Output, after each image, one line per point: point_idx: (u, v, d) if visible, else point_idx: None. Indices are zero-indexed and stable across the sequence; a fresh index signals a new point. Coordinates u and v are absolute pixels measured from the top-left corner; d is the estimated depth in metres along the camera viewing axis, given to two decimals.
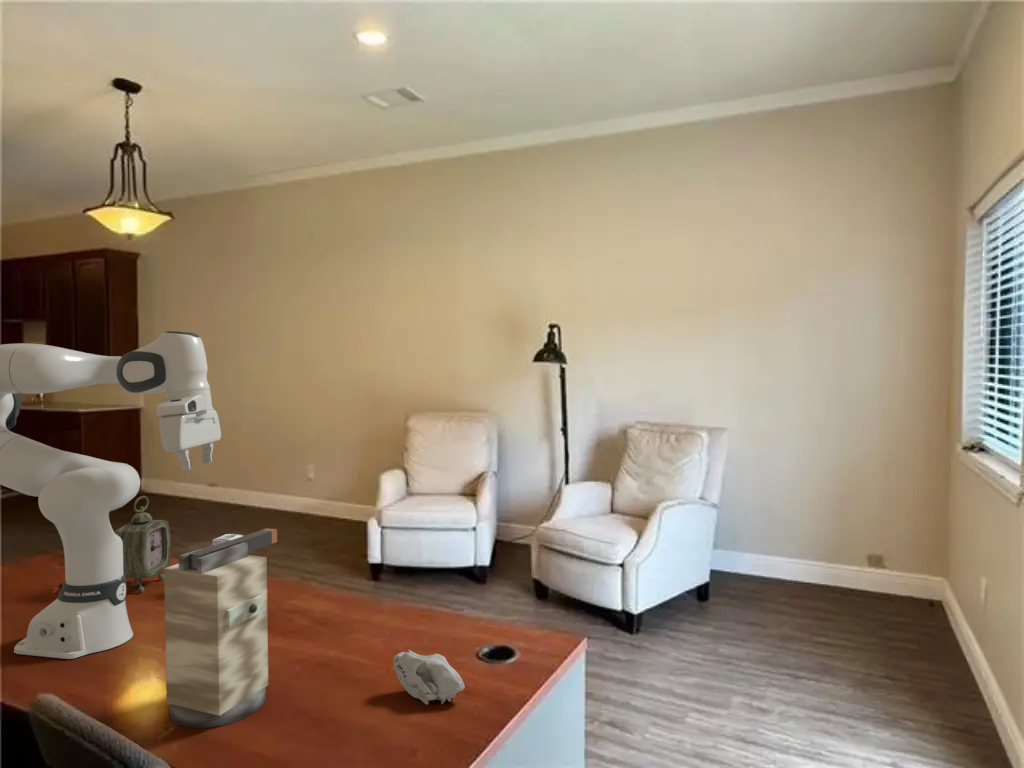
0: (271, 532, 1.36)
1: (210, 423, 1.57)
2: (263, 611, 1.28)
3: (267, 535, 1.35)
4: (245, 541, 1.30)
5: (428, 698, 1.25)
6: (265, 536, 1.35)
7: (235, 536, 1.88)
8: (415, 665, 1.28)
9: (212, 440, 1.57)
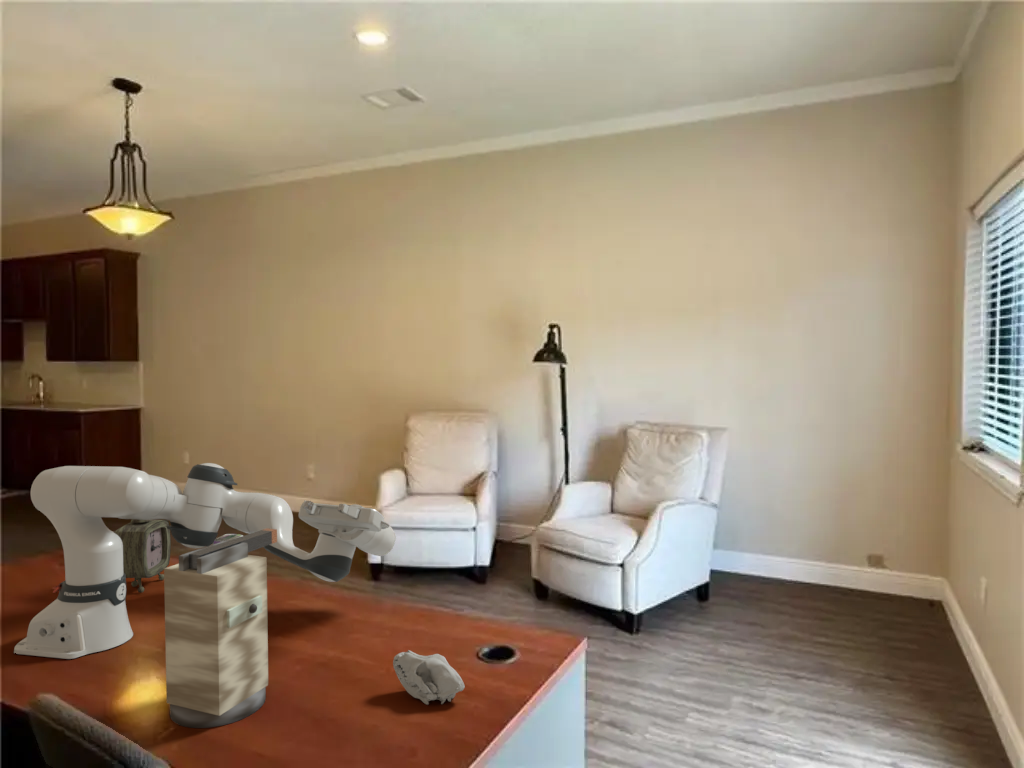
0: (271, 532, 1.36)
1: None
2: (263, 611, 1.28)
3: (267, 535, 1.35)
4: (245, 541, 1.30)
5: (428, 698, 1.25)
6: (265, 536, 1.35)
7: (235, 536, 1.88)
8: (415, 665, 1.28)
9: (355, 507, 1.57)
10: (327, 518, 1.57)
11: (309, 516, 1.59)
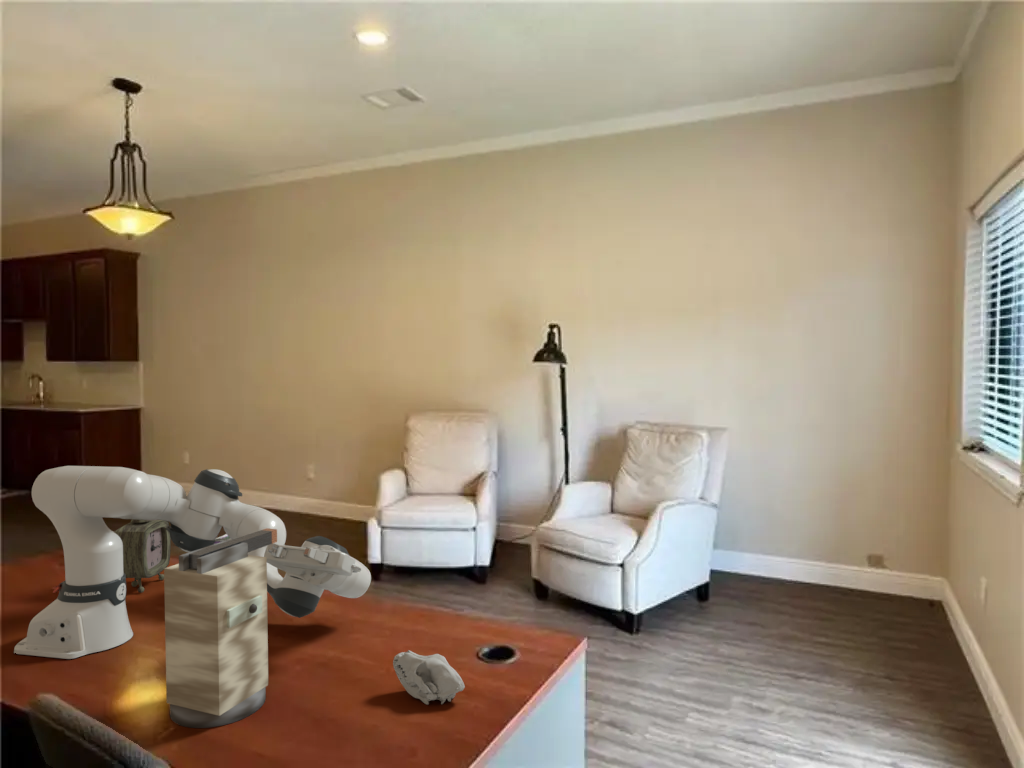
0: (271, 532, 1.36)
1: None
2: (263, 611, 1.28)
3: (267, 535, 1.35)
4: (245, 541, 1.30)
5: (428, 698, 1.25)
6: (265, 536, 1.35)
7: None
8: (415, 665, 1.28)
9: (324, 550, 1.45)
10: (293, 562, 1.46)
11: (274, 559, 1.48)
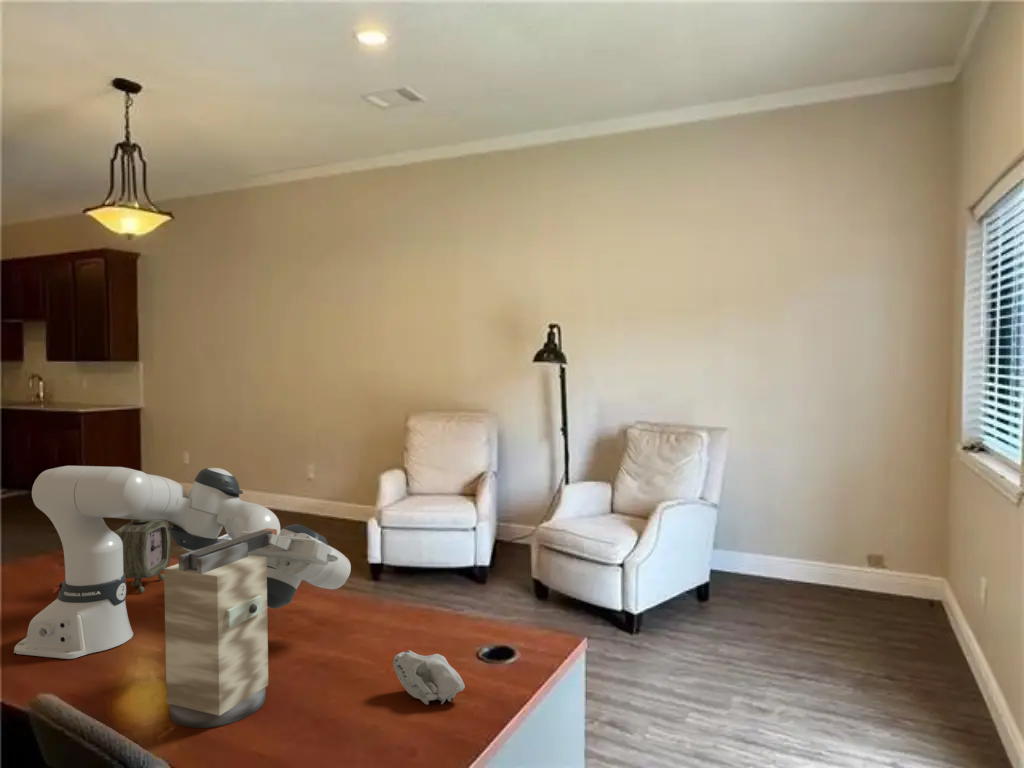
0: (271, 532, 1.36)
1: None
2: (263, 611, 1.28)
3: None
4: (245, 541, 1.30)
5: (428, 698, 1.25)
6: (265, 536, 1.35)
7: None
8: (415, 665, 1.28)
9: (298, 537, 1.38)
10: (266, 550, 1.39)
11: None
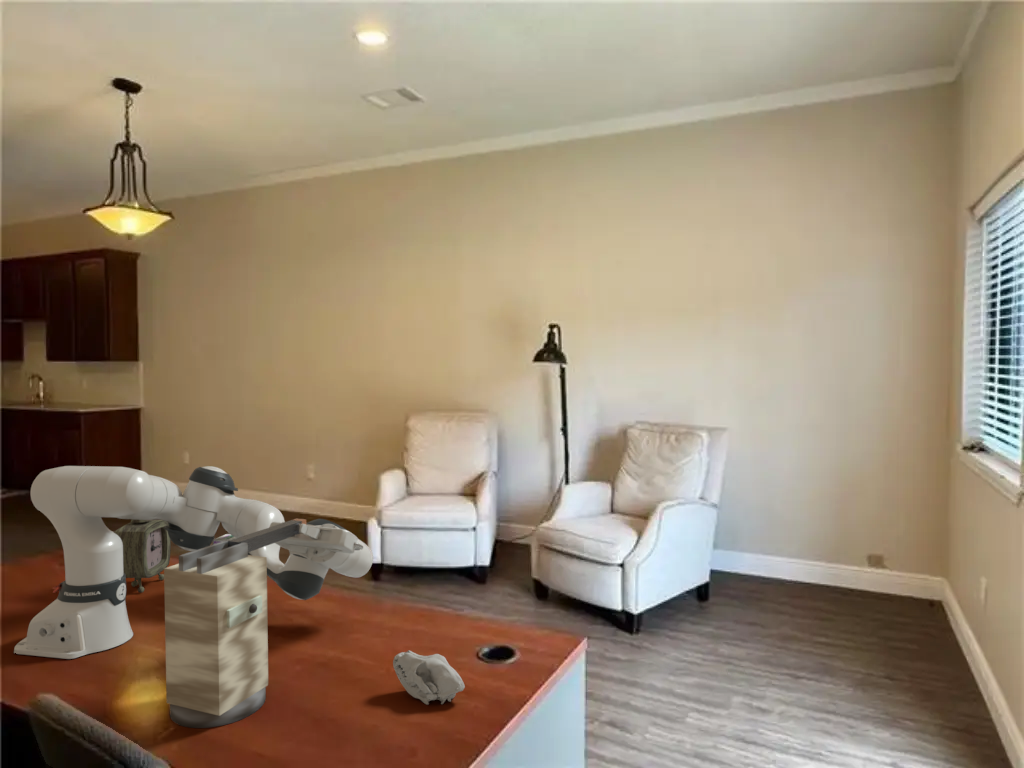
0: (301, 522, 1.45)
1: None
2: (263, 611, 1.28)
3: None
4: (278, 530, 1.38)
5: (428, 698, 1.25)
6: (296, 526, 1.43)
7: None
8: (415, 665, 1.28)
9: (326, 527, 1.47)
10: (296, 539, 1.47)
11: None
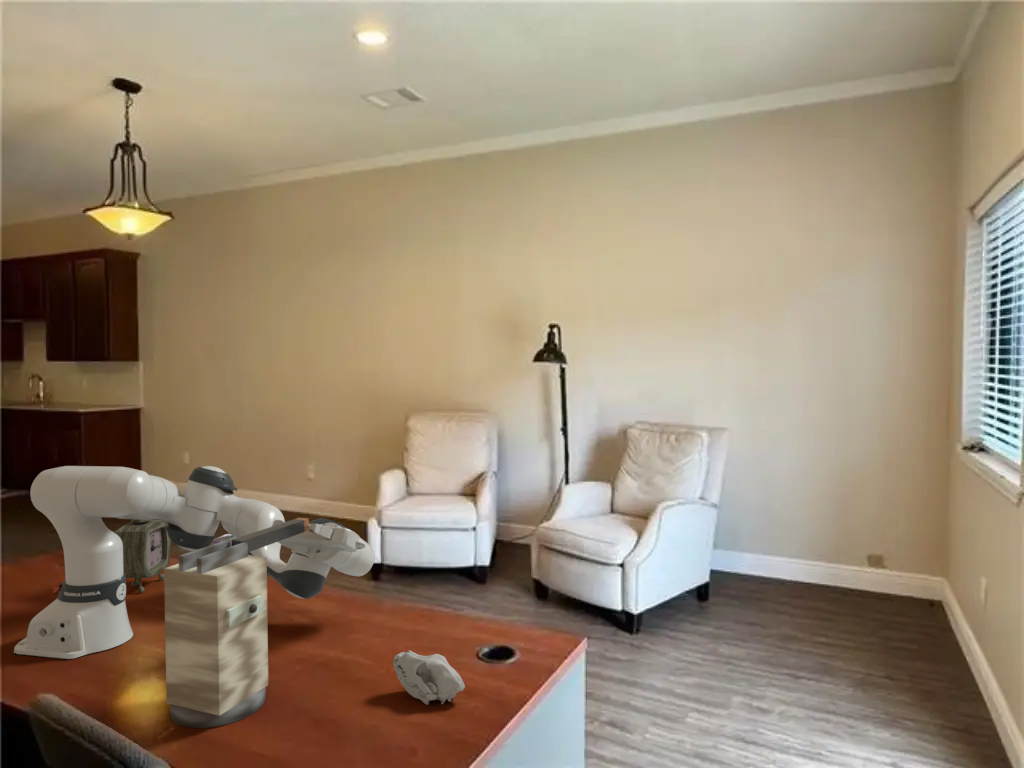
0: (304, 521, 1.46)
1: None
2: (263, 611, 1.28)
3: (300, 524, 1.45)
4: (281, 529, 1.39)
5: (428, 698, 1.25)
6: (298, 525, 1.44)
7: None
8: (415, 665, 1.28)
9: (329, 526, 1.48)
10: (299, 538, 1.48)
11: None
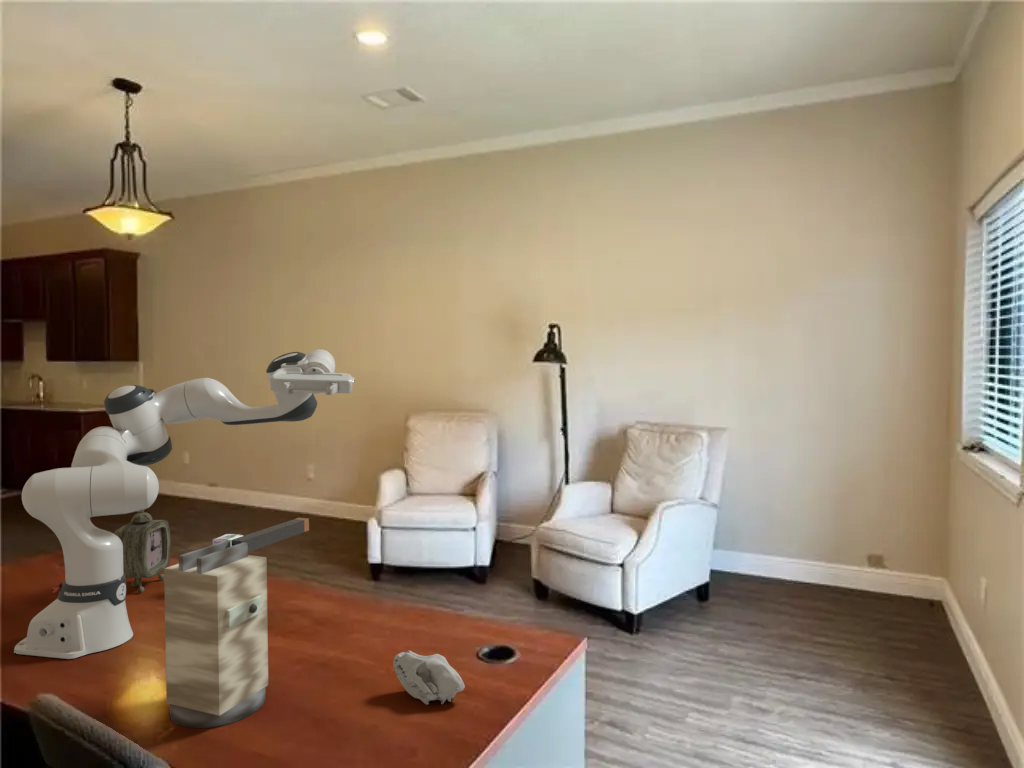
0: (304, 521, 1.46)
1: (334, 376, 1.80)
2: (263, 611, 1.28)
3: (300, 524, 1.45)
4: (281, 529, 1.39)
5: (428, 698, 1.25)
6: (298, 525, 1.44)
7: (235, 536, 1.88)
8: (415, 665, 1.28)
9: (331, 379, 1.76)
10: (305, 391, 1.76)
11: (285, 391, 1.75)
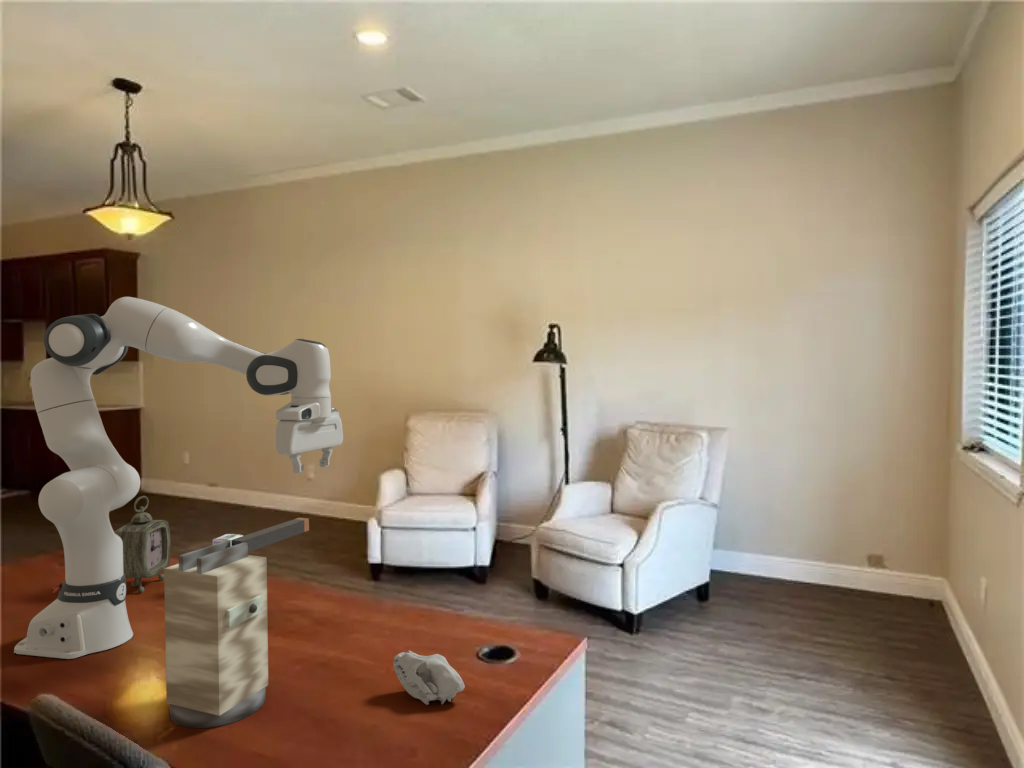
0: (304, 521, 1.46)
1: (331, 428, 1.64)
2: (263, 611, 1.28)
3: (300, 524, 1.45)
4: (281, 529, 1.39)
5: (428, 698, 1.25)
6: (298, 525, 1.44)
7: (235, 536, 1.88)
8: (415, 665, 1.28)
9: (331, 445, 1.64)
10: None
11: None
